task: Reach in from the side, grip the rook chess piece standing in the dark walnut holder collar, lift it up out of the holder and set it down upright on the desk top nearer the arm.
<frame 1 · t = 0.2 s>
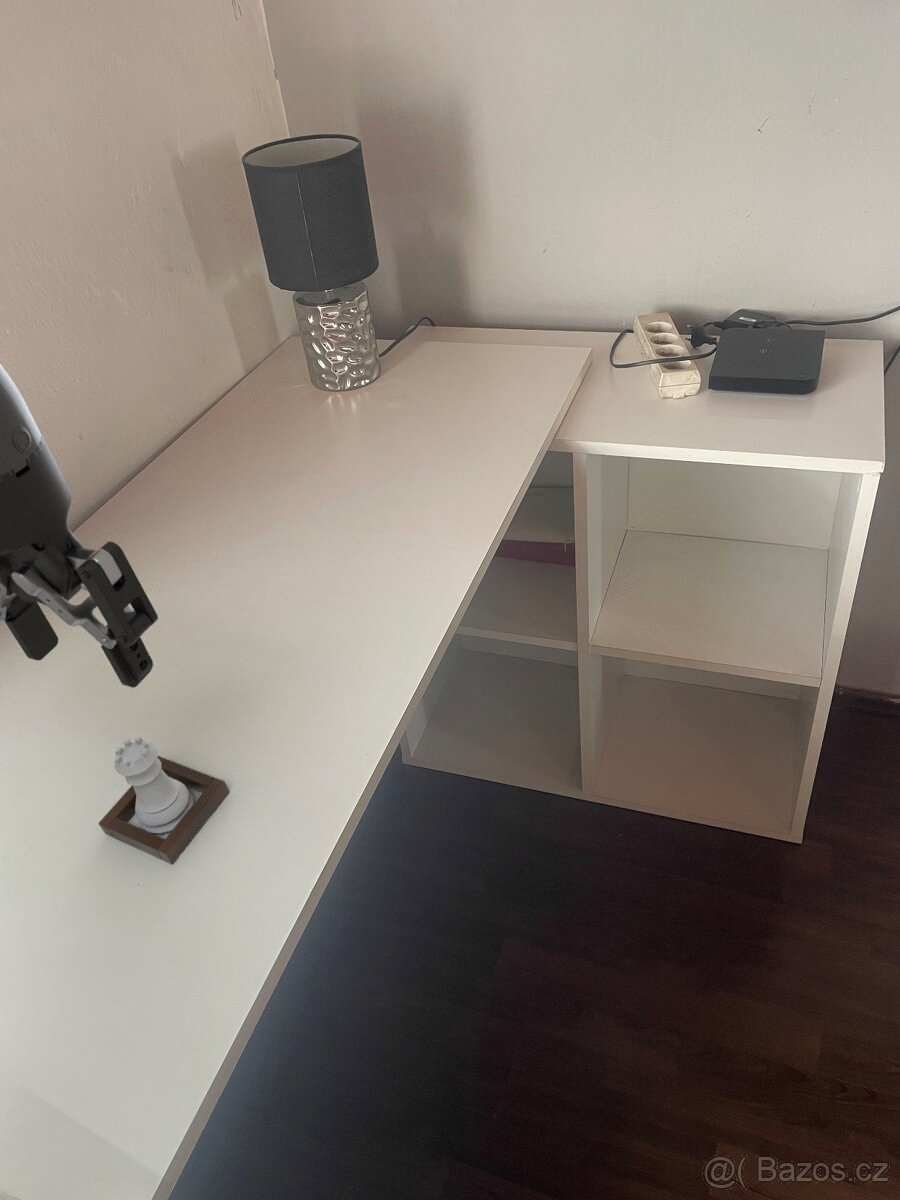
hand: (91, 664, 57), 18 cm above the table, tool pointing down, fingers open, 8 cm apart
holder collar: (168, 812, 70), on the table
rook chess piece: (169, 814, 70), resting in holder collar
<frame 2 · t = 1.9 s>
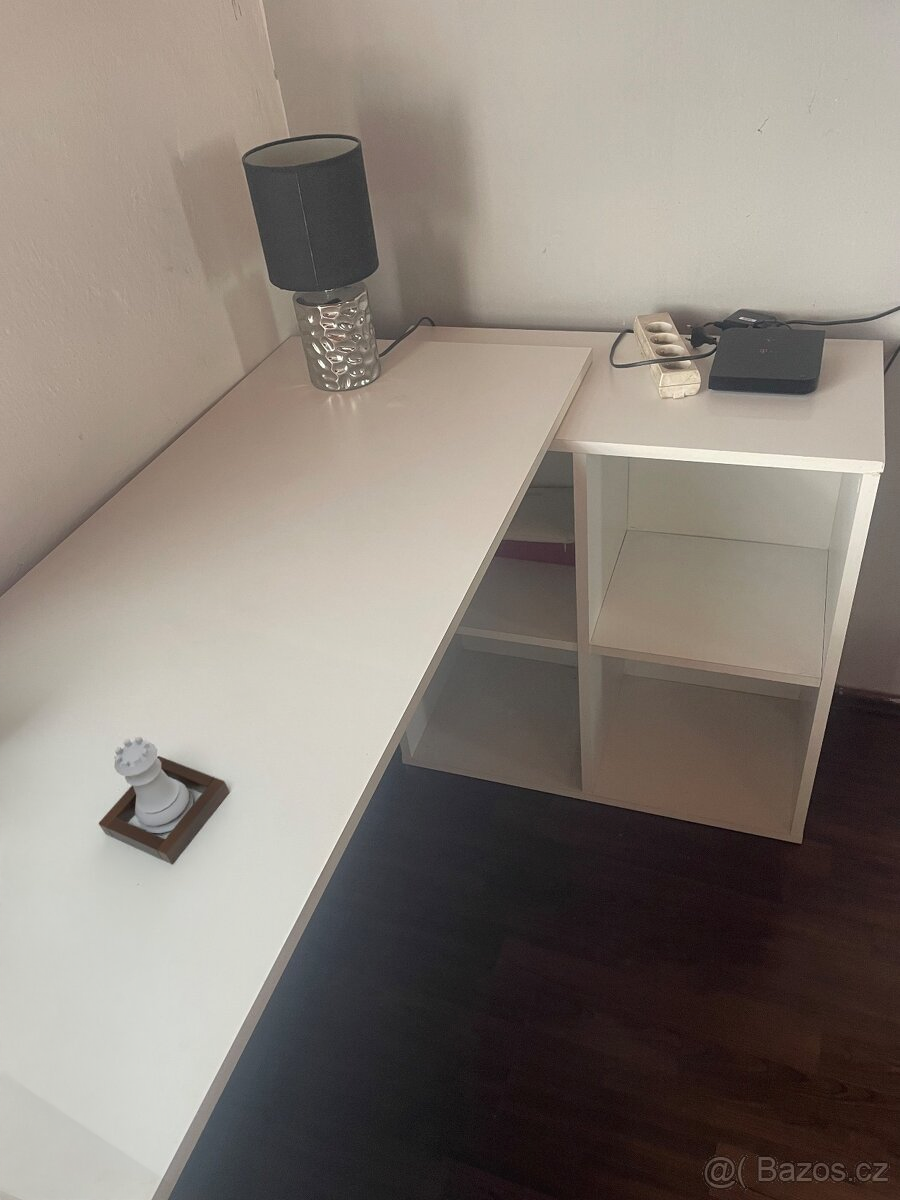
nothing on the table moved.
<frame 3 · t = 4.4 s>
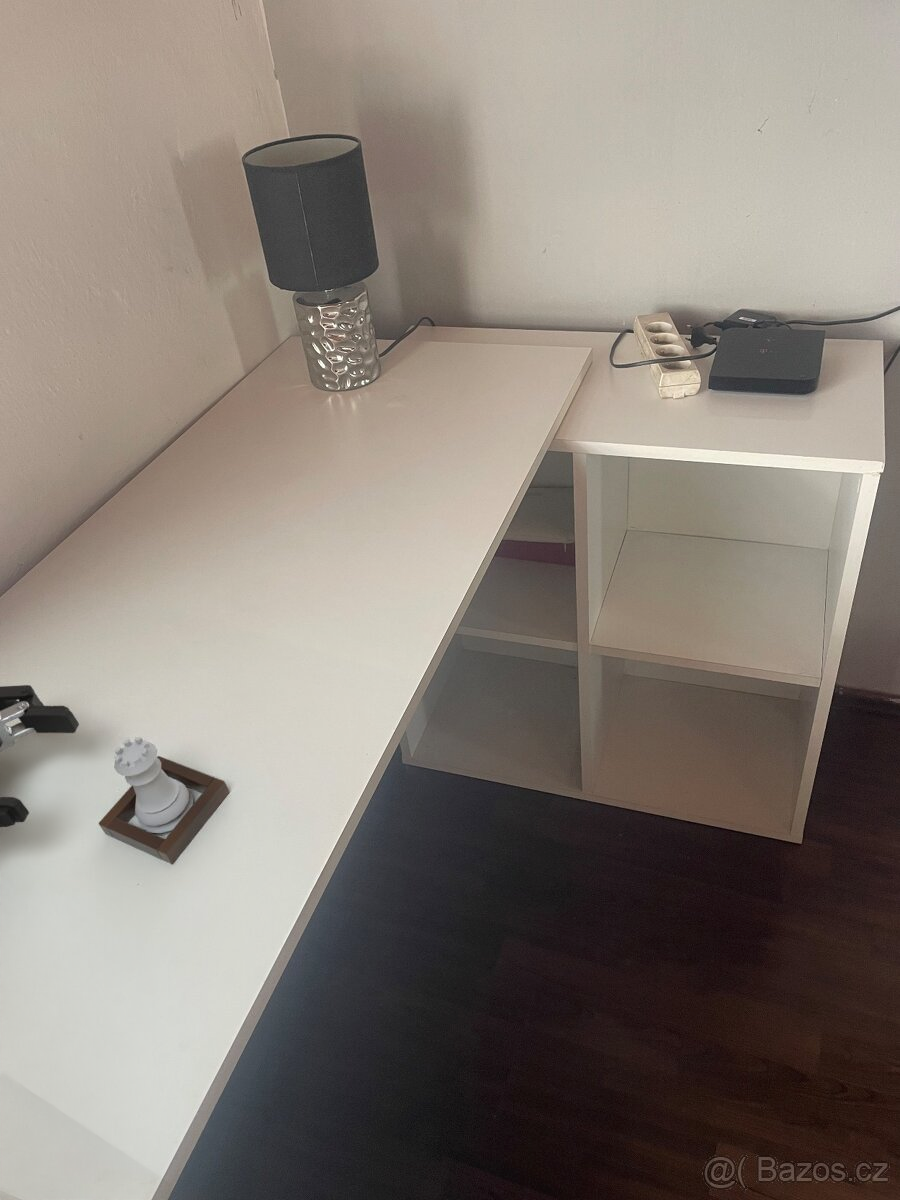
hand: (49, 763, 67), 6 cm above the table, tool horizontal, fingers open, 8 cm apart
nothing on the table moved.
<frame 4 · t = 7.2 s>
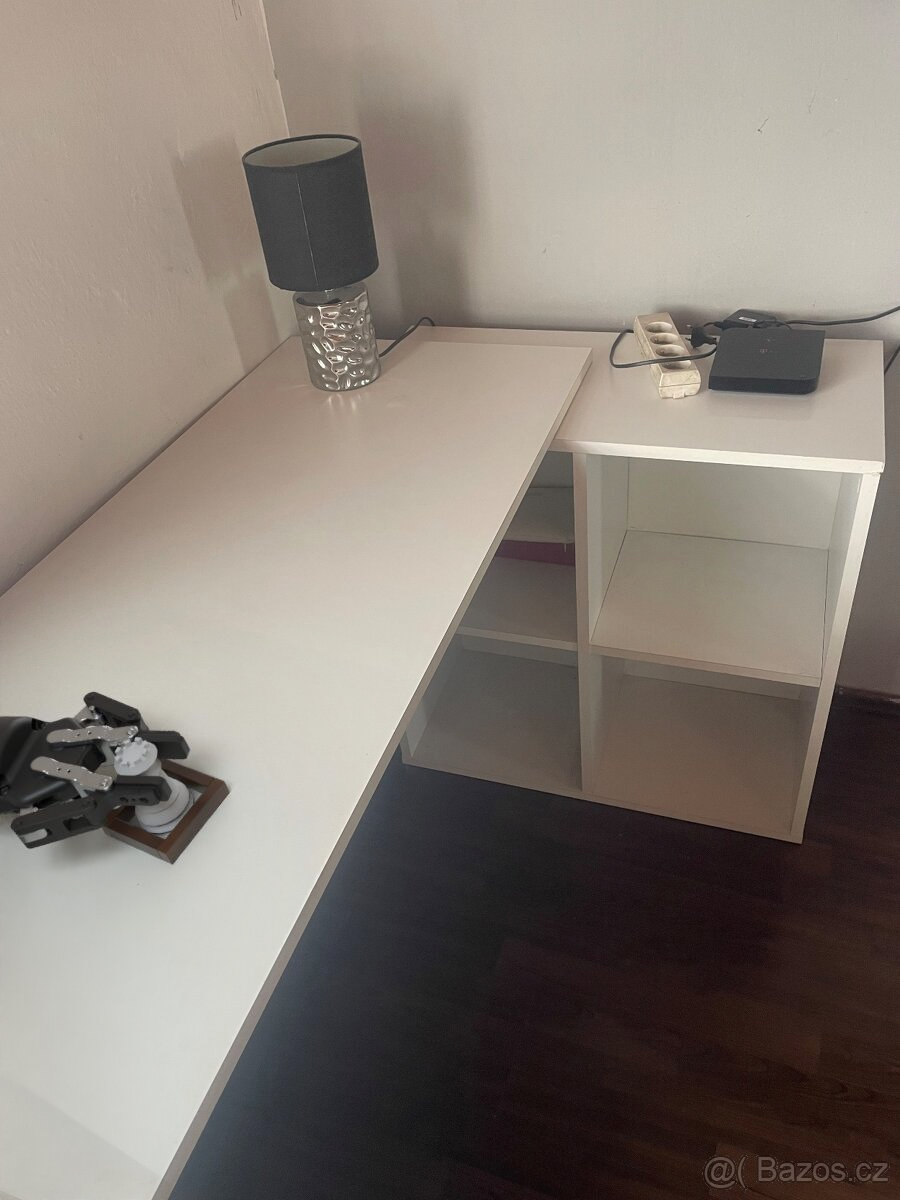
hand: (175, 767, 65), 6 cm above the table, tool horizontal, fingers closed on rook chess piece, 3 cm apart
rook chess piece: (169, 814, 70), resting in holder collar, touching gripper
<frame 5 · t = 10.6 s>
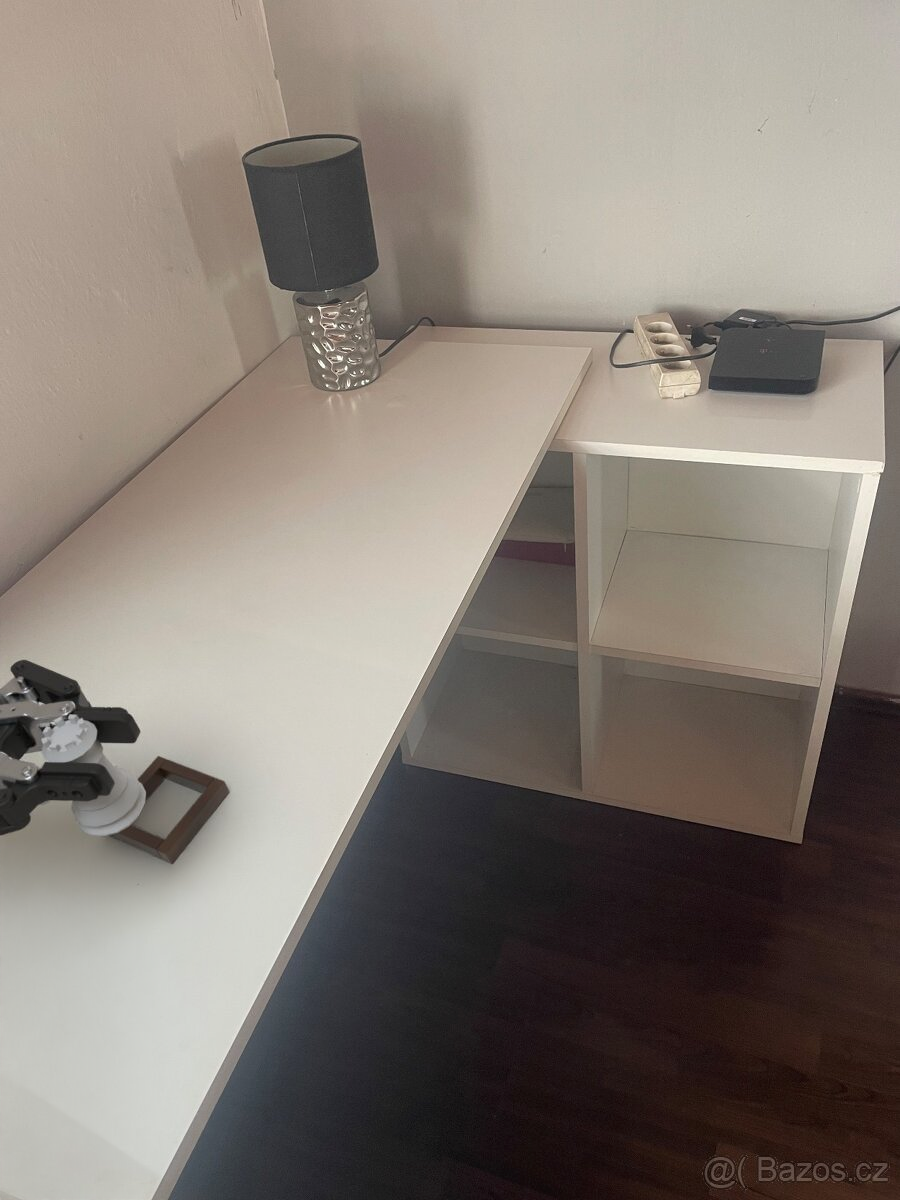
hand: (120, 752, 52), 17 cm above the table, tool horizontal, fingers closed on rook chess piece, 3 cm apart
rook chess piece: (115, 812, 56), point 11 cm above the table, touching gripper
when the fingers open (6 cm above the table, at t = 14.3 s): rook chess piece stays where it is, on the table.
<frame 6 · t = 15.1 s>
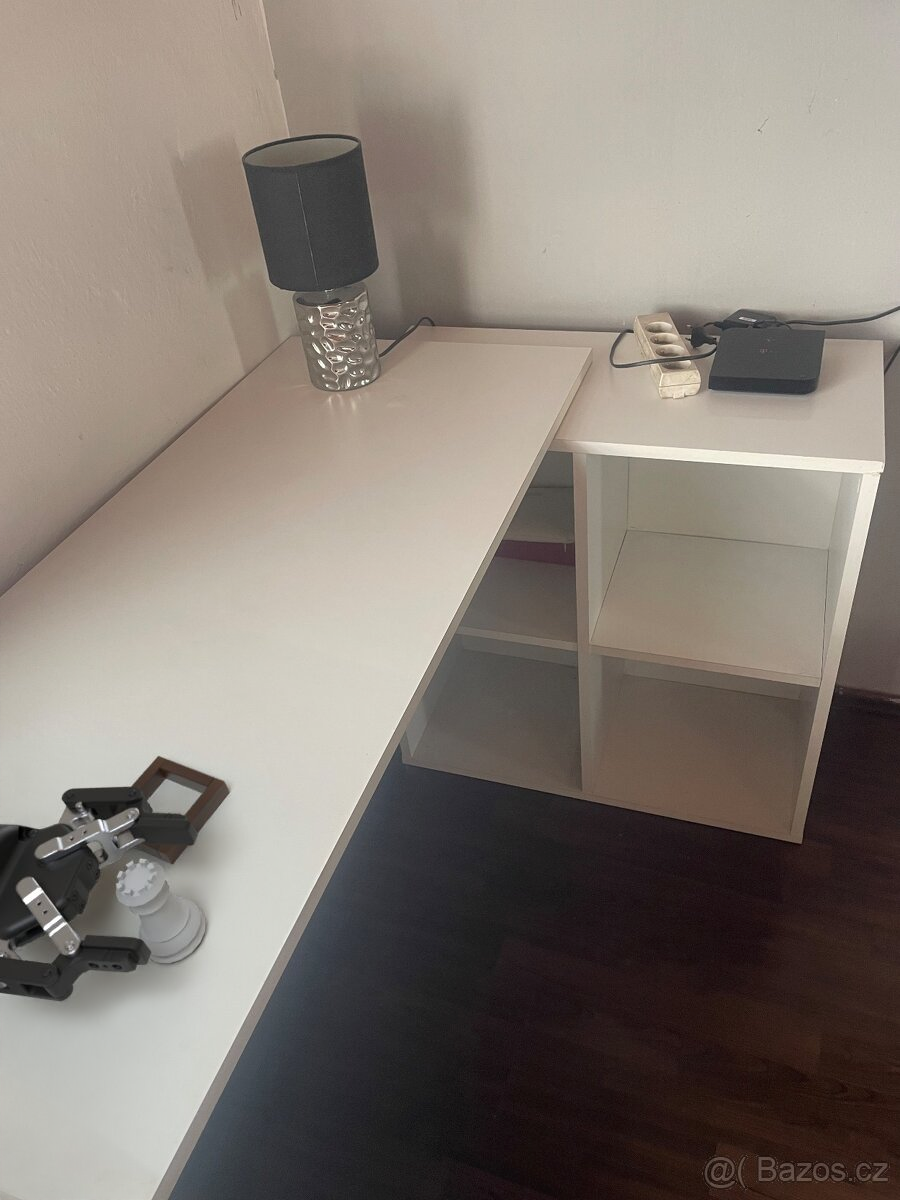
hand: (170, 888, 57), 7 cm above the table, tool horizontal, fingers open, 8 cm apart
rook chess piece: (177, 937, 62), on the table
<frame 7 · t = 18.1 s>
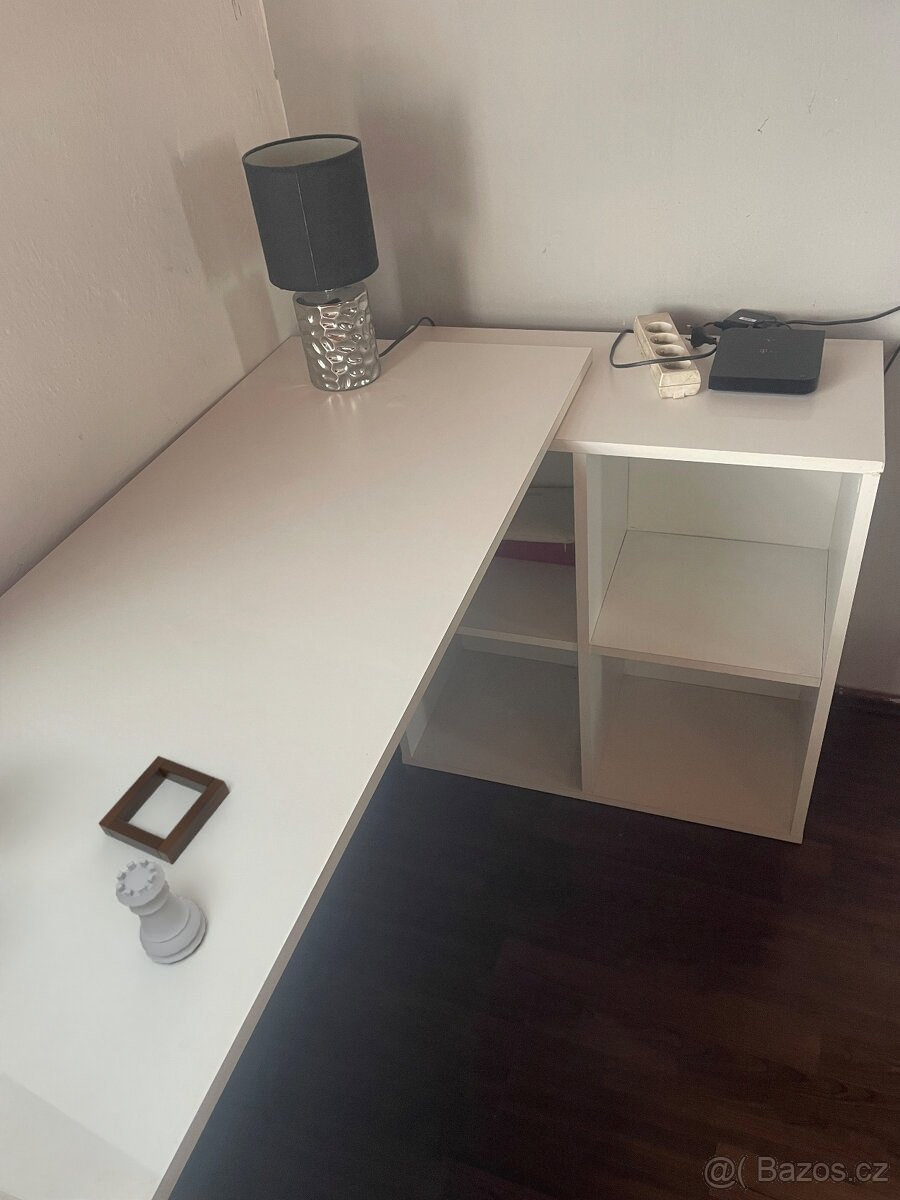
nothing on the table moved.
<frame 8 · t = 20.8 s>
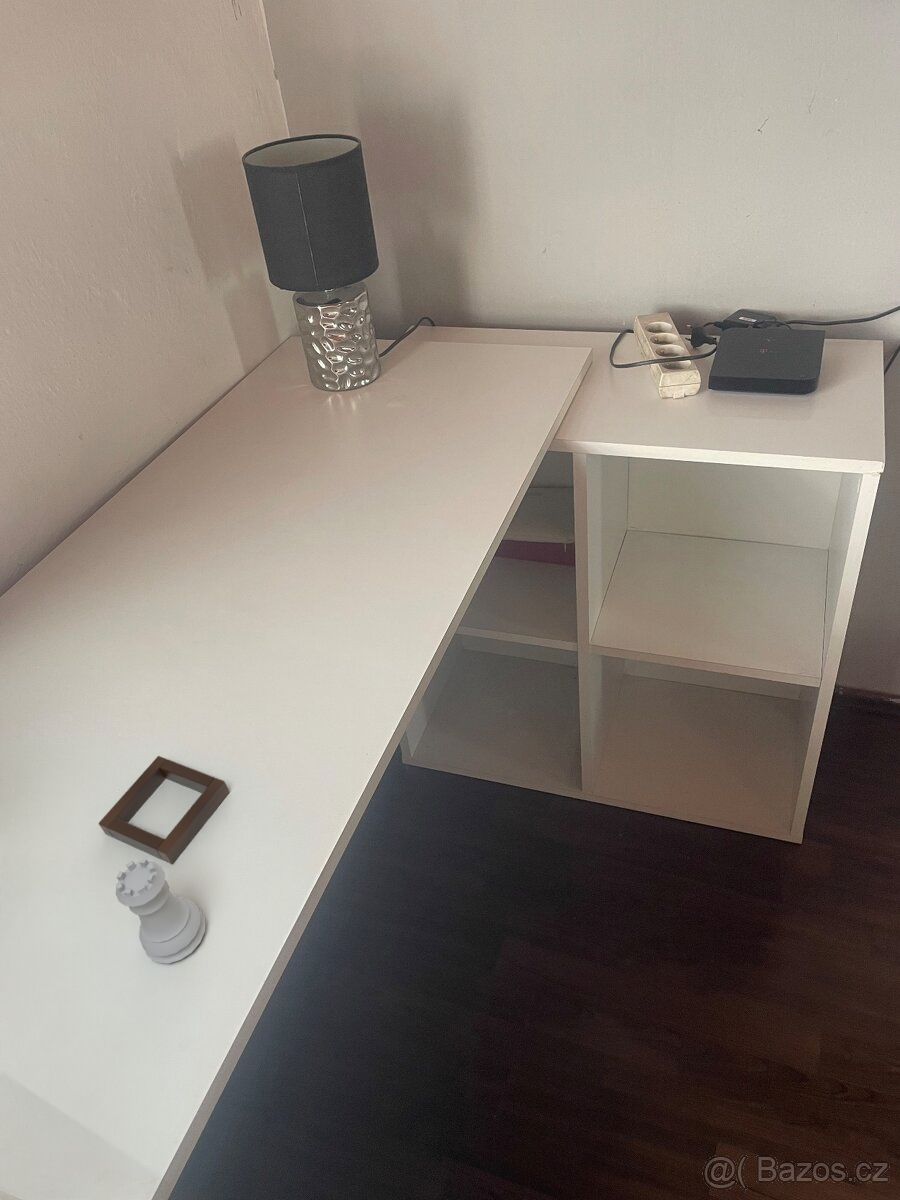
nothing on the table moved.
at the end: rook chess piece inside the target area (0.2 cm from its centre), on the table; rook chess piece tilted 0°; the gripper is holding nothing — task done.
